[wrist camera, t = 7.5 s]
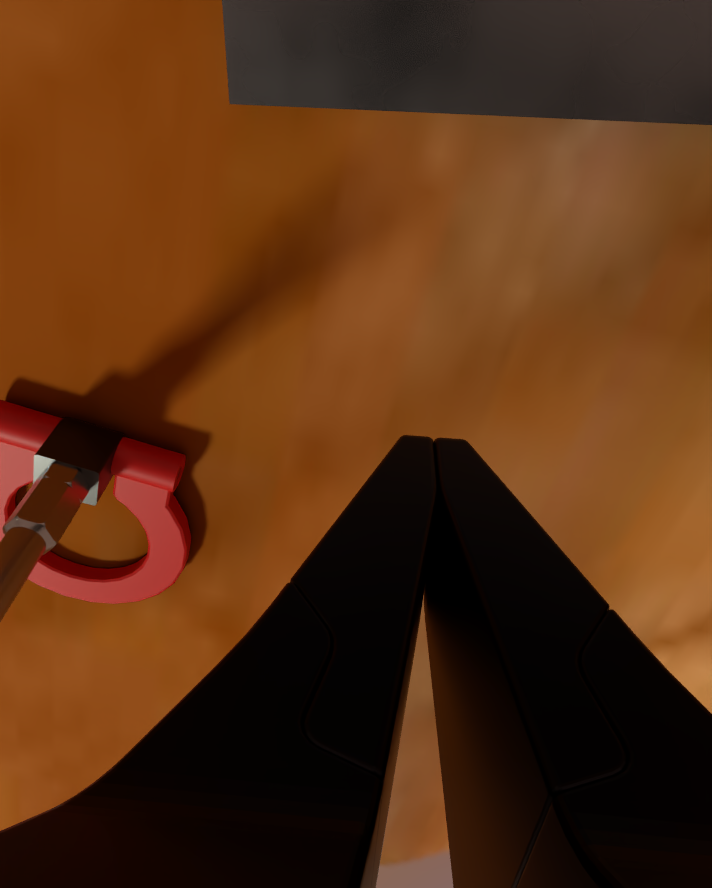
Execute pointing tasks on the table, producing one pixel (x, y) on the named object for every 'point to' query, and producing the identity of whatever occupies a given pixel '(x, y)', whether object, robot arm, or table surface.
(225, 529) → the table surface
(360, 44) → the hinge
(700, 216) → the table surface
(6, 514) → the tow hook
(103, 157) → the table surface
